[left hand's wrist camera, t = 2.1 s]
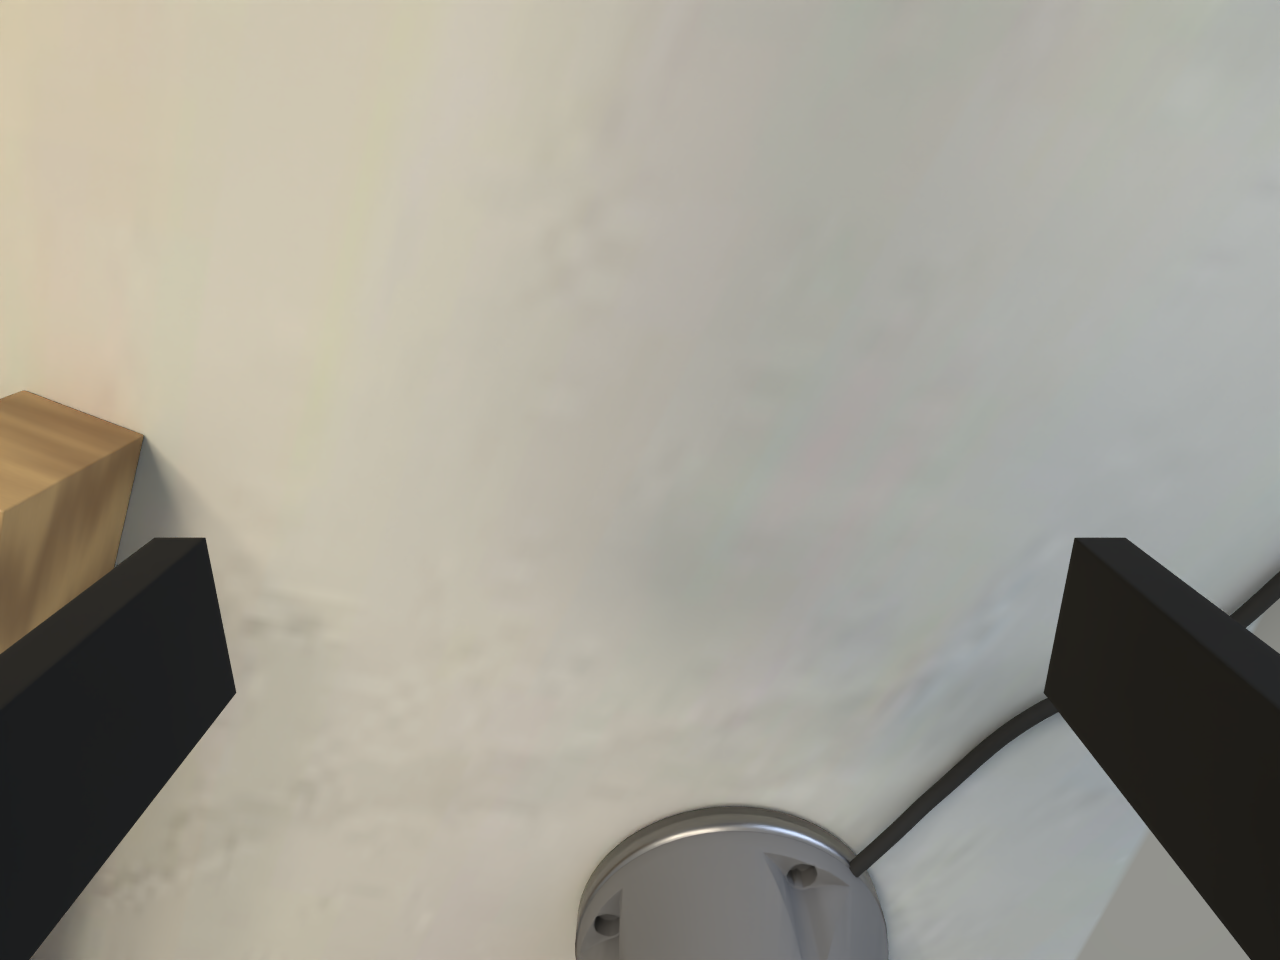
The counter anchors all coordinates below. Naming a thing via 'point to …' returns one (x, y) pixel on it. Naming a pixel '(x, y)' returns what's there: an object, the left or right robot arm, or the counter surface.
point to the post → (57, 506)
